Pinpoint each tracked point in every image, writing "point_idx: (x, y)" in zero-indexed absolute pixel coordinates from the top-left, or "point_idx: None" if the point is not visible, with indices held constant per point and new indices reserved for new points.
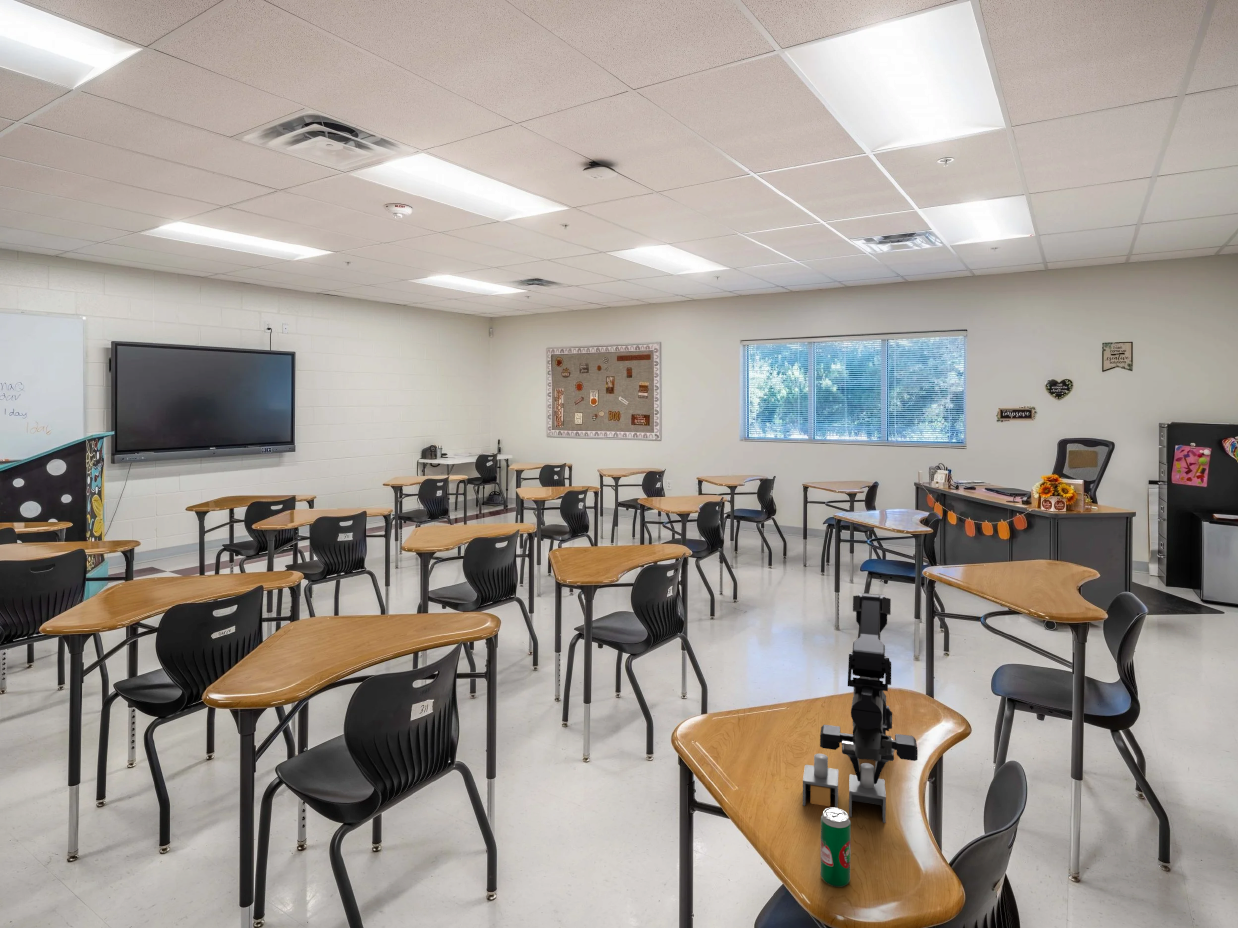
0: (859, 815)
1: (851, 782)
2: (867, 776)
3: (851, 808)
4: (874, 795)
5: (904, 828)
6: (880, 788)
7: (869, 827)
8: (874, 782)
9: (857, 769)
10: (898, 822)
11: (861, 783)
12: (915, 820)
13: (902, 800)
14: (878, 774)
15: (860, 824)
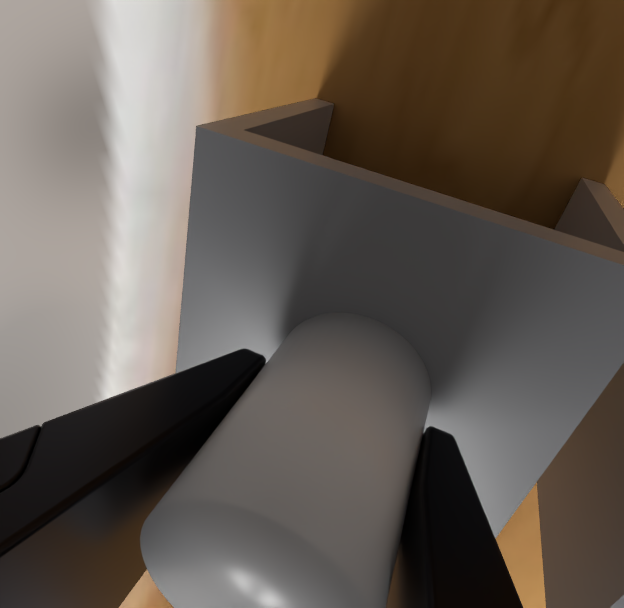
0: (492, 204)
1: (521, 455)
2: (321, 416)
3: (595, 200)
4: (328, 165)
5: (197, 27)
6: (227, 305)
7: (478, 10)
8: (259, 361)
9: (466, 589)
10: (224, 112)
11: (421, 392)
12: (121, 142)
13: (166, 346)
14: (136, 401)
15: (547, 57)
